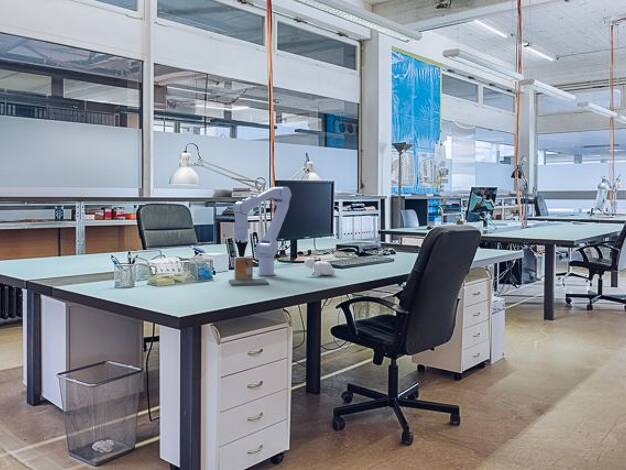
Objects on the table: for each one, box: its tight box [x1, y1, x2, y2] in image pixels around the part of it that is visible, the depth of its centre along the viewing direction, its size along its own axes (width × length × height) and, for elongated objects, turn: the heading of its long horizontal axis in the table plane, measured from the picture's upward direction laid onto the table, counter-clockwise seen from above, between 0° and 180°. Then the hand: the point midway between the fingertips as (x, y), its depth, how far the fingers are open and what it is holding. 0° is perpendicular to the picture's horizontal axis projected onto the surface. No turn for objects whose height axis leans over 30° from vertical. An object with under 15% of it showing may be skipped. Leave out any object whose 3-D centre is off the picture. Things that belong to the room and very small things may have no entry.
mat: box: [228, 278, 270, 287], centre depth 257 cm, size 12×16×1 cm
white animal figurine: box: [304, 257, 336, 278], centre depth 282 cm, size 8×8×15 cm
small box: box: [233, 256, 254, 279], centre depth 266 cm, size 8×6×10 cm
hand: (241, 256), depth 273 cm, fingers closed
